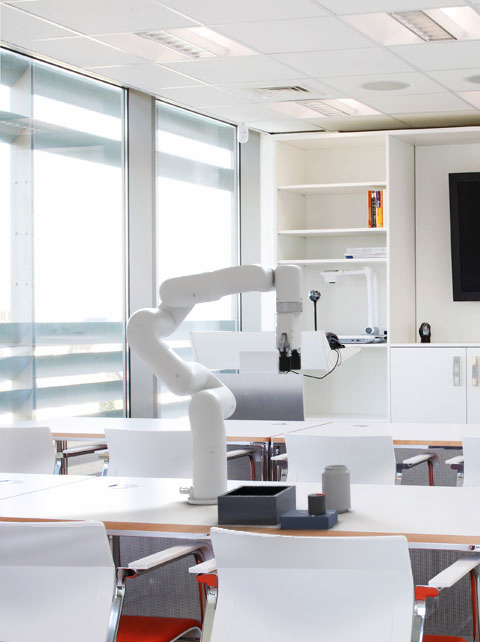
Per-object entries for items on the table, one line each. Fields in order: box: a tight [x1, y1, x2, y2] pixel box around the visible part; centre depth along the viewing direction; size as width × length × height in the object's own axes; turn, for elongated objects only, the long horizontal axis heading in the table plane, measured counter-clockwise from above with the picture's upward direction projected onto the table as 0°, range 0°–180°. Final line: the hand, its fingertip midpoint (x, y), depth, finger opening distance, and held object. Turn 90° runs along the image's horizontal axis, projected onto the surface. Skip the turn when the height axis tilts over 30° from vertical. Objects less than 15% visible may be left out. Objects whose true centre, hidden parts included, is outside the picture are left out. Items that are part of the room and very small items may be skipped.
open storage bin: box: [217, 484, 297, 526], centre depth 254 cm, size 15×17×7 cm
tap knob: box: [307, 492, 326, 515], centre depth 243 cm, size 4×4×5 cm
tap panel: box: [279, 509, 339, 530], centre depth 244 cm, size 12×9×3 cm
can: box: [321, 464, 352, 514], centre depth 262 cm, size 8×8×12 cm
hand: (290, 370), depth 277 cm, fingers open, 9 cm apart
